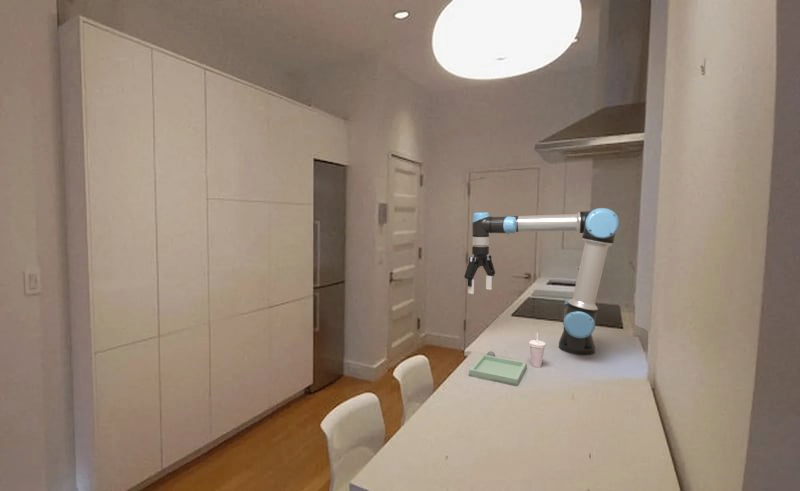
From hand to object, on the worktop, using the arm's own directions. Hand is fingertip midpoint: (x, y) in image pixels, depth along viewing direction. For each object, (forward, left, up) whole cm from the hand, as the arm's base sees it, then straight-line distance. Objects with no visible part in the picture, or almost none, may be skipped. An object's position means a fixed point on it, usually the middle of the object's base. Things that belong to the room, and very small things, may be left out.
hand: (480, 291), depth 179 cm
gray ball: (-10, +15, -26) cm, 31 cm away
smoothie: (-28, +12, -26) cm, 40 cm away
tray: (-16, +26, -26) cm, 40 cm away
